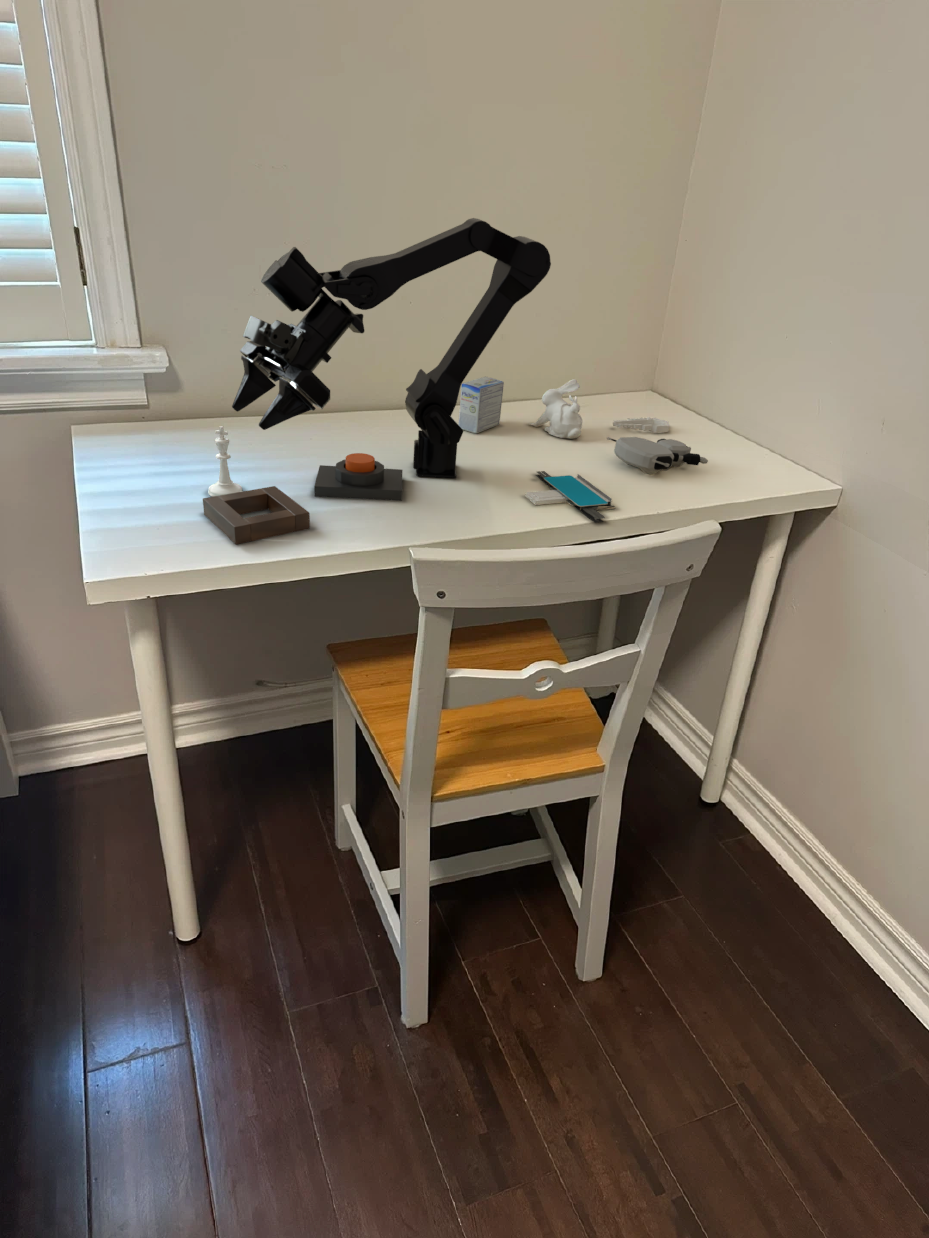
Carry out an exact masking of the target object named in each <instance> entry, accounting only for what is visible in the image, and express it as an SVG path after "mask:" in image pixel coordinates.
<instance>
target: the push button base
mask: <svg viewBox="0 0 929 1238" xmlns="http://www.w3.org/2000/svg"><path fill="white" fill-rule="evenodd" d="M313 490H314V491H313V493H314V497H315V498H330V499H331V498H333V499H351V500H354V499H355V500H372V501H373V500H374V501H375V500H376V501H392V502H393V501H394V502H395V501H396V502H402V501H403V469H401V468H399V469H397V468H385V465H384V464H383V463H381V462H380V461H378V460H375V469H374V470H373V471H371V472H364V473H363V472H352V471H348V470H347V469H346V458H344V459H342V460H340V461H338V462H336V464H335V465H321V464H320V465H319V467H318V470H317V475H316V479H315V483H314V489H313Z"/></svg>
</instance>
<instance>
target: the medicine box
mask: <svg viewBox="0 0 929 1238" xmlns="http://www.w3.org/2000/svg"><path fill="white" fill-rule="evenodd" d="M504 385H505V382H504V381H503V380H500V379H497V378H493V377H489V376H482V377H478V378H475V379H472V380H468V381H466V382H462V384H461V387H460V400H459V412H458V413H459V414H458V423H457V424H458V425H459V426H460V427H461V428H462V429H463V431H466V432H469V433H472V434H478V433H481V432H484V431H486V430H489V429H491V428H495V427H497V426H500V423H501V414H502V405H503V404H502V403H503V396H504V395H503V394H504V387H505V386H504Z"/></svg>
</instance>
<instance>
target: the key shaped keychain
mask: <svg viewBox="0 0 929 1238" xmlns="http://www.w3.org/2000/svg"><path fill="white" fill-rule="evenodd" d="M612 427H615V428H618V429H632V430H639V431H642V432H651V433H654V434H659V433H669V430H670V423H669V421H668V420H665V419H661V418H657V417H650V416H649V417H648V416H647V417H639V418H638V417H637V418H635V417H634V418H627V419H613V420H612Z"/></svg>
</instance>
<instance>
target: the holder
mask: <svg viewBox="0 0 929 1238" xmlns="http://www.w3.org/2000/svg"><path fill="white" fill-rule="evenodd" d="M242 491H243V492H237V493H231V494H226V495H220V496H213V497H212V496H208V497H203V498H202V505H203V507H202V508H203V515H204V517H205V518H207V519H208V520H209V521H210V522H211V523H212V524H213V525H214V526H215V527H216V528H217V529H219V530H220V531H221V532H222V534H224V535H225V536H226V537H227V538H228V539H229V540H230V541H231V542H233V544H234V545H239V544H244V543H249V542H255V541H259V540H260V541H261V540H263V539H268V538H272V537H277V536H283V535H288V534H292V533H297V532H302V531H306V530H310V529H311V526H310V525H311V520H310V519H311V517H310V514H311V513H310V511H308V510H307V509H306V508H304V507H303V506H301V505H300V503H298V502H297V501H295V500H294V499H293V498H291V496H289V495H288V494H286V493H285V492H283V491H282V490H281V489H280V488H278V487H277V486H276V485H272V486H267V487H260V488H256V489H249V490H242ZM267 510H268V511H269V512H268V513H264V514H259V515H253V516H247V517H243V516H242V515H245V514H250V513H256V512H262V511H267Z"/></svg>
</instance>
